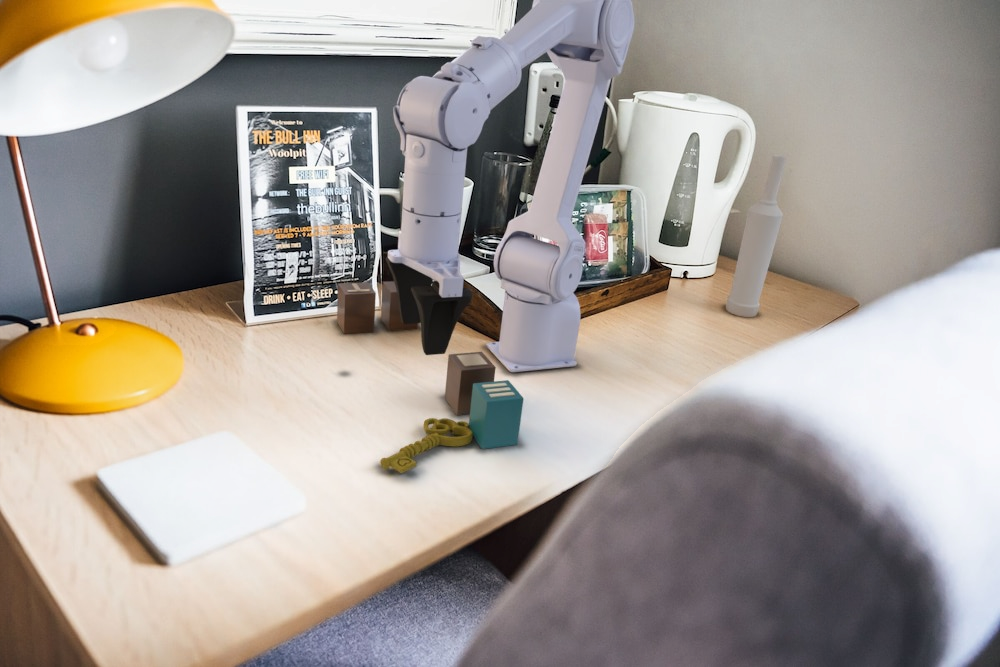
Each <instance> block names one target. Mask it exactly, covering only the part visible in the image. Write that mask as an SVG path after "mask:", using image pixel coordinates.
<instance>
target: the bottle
mask: <svg viewBox="0 0 1000 667" xmlns="http://www.w3.org/2000/svg"><path fill="white" fill-rule="evenodd" d="M787 158H788V156H786V155H783V154H772V156H771V161H770V165H769V170H768V174H767V179H766V183H765V186H764V190H763V194H762V197H761V198H759V201H758V202H756V203H755V204H753V205H752V206H750V207H748V210H747V215H746V221H745V225H744V230H743V233H742V237H741V242H740V248H739V252H738V257H737V262H736V266H735V270H734V276H733V279H732V283H731V289H730V293H729V296H727V297H726V303H725V310H726V311H727V312H728V313H730V314H732V315H735V316H738V317H741V318H742V317H743V318H753V317H756V316H757V315H758V312H759V309H760V305H761V304H760V299H761V295H762V292H763V289H764V285H765V281H766V277H767V274H768V271H769V267H770V263H771V260H772V257H773V253H774V250H775V246H776V242H777V239H778V235H779V230H780V227H781V224H782V221H783V218H784V217H783V216H784V213H783V212H782V210H781V209H780V207H779V206H778V201H777V197H778V192H779V189H780V185H781V180H782V176H783V172H784V170H785V166H786V162H787Z"/></svg>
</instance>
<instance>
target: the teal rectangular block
mask: <svg viewBox="0 0 1000 667" xmlns="http://www.w3.org/2000/svg"><path fill="white" fill-rule="evenodd" d="M524 399H525V398H524V397H523V395H522V393H520V391H519V390H518V389H517V388H516V387H515V386H514V385H513V384H512V383H511V382H510V380H508V379H505V380H494V382H484V383H474V384H473V389H472V399H471V408H470V414H469V417H468V418H469V420H468V424H469V429H470V430H471V431H472V433H473V437H472V438H473V439H474V440H475V441H476V443H477V444H478V446H479V447H480V449H481V450H486V449H494V448H502V447H509V446H515V445H518V442H519V436H520V427H521V421H522V415H523V414H522V412H523V406H524Z"/></svg>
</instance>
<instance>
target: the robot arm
mask: <svg viewBox="0 0 1000 667" xmlns="http://www.w3.org/2000/svg"><path fill="white" fill-rule="evenodd" d="M635 22H636V21H635V15H634V5H633V2H632V0H533V1H532V6H531V9H530V10H529V11H527V13H526V14H525V15H524V16H523V17H522V18H520V20H518V21H517V22H516V23H515V24H514V25H513V26H512V27H511V28H510V29H509V30H508V31H507V32H506V33H504V35H502V37H500V38H498V37H495V36H480V35H478V36H477V37H475V38H474V39H472V40H471V42H470V44H471V46H470V47H469V48H468V49H466V50H465V51H464V52H462V53H461V54H460V55H458V56H457V57H455V58H454V59H452V61H448V62H446V63H445V64H443V65H442V66H441V67H440V70H438V71H437V72H436V73H435V74H434V75H433V76H426V75H420V76H416V77H414V78H413V79H412V80H410V81H409V82H407V83H406V84H405V85H404V86H403V88H402V89H401V91H400V93H399V95H398V98H397V102H396V105H395V106H393V108H392V111H393V112H392V113H393V114H392V115H393V121H394V124H395V127H396V129H397V130H398V132H399V136H400V151H401V153H402V156H404V169H403V170H404V171H403V172H404V173H403V188H402V189H403V190H402V209H401V210H402V211H401V224H400V225H401V226H400V230H399V231H398V238H397V239H398V240H397V249H389V250H387V256H386V257H385V261H386V264H387V266H388V268H389V270H390V273H391V276H392V279H393V281H394V282H395V286H396V291H397V297H398V303H399V310H400V316H401V320H402V322H403V324H415V323H418V324H420V336H421V337H420V338H421V346H422V352H423V354H424V355H425V356H434V355H445V354H446V352H447V349H448V346H449V344H450V341H451V338H452V336H453V334H454V330H455V329H456V328H455V327H456V325H457V323H458V321H459V320H460V317H461V315H462V314H463V312H464V310H466V308H467V307H468V305H469V304H470V303H471V302H472V300H473V292H472V291H471V290H470V289H469V288H468V287H464V276H463V275H462V274H461V255H460V253H459V246H460V233H461V224H462V214H463V213H462V212H463V200H464V199H463V198H464V190H465V178H466V166H467V157H468V156H467V155H468V147H470V146H471V145H474V144H475V143H476V142H477V140H478V139H479V137H480V135H481V133H482V130H483V127H484V124H485V122H486V121H487V119H489V115H490V114H491V111H492V110H493V109H494V108H496V106H497V105H499V104H500V103H501V102H502V101H503V100H505V99H506V98H507V97H508V96H509V95H510V94H511V93H513V92H514V91H515V90H516V89H517V88H518V87H519V85H520V83H521V80H522V70H523V69H524V68H526V66H528V65H530V64H531V63H533V62H534V61H535V60H537V59H538V58H540V57H541V56H543V55H544V54H547V56H548V57H549V59H550V60H551V62H552V64H553V65H554V66H555V67H557V68H558V69H560V70H561V72H562V75H563V77H564V84H563V87H562V90H561V94H560V98H559V101H558V104H557V109H556V112H555V116H554V119H553V124H552V127H551V131H550V135H549V138H548V142H547V145H546V147H545V148H546V149H545V152H544V156H543V159H542V162H541V166H540V170H539V174H538V177H537V182H536V184H535V189H534V192H533V194H532V195H533V196H532V199H531V203H530V207H529V209H528V210H527V211H526V212H523V213H522V214H520V215H518V216H516V217H514V218H512V219H511V220H509V221H508V223H507V227H506V229H505V232H504V235H503V237H502V239H501V240H500V241H499V243H498V244H497V246H496V249H495V252H494V256H493V269H494V270H493V271H494V273H495V276H496V277H497V279H499V280H500V288H501V289H503V290H505V291H504V299H503V300H504V301H503V308H502V316H501V325H500V332H499V339H498V340H499V341H492V342H487V343H486V348H487V349H488V350H489V351H490V352H491V353H492V355H494V356H495V357H496V358H497V360H498V361H499V362H500V363H501V364H502V366H504V367H505V368H506V369H507V370H508V371H509V372H510V373H520V372H529V371H539V370H540V371H541V370H550V369H551V370H552V369H558V368H570V367H576V366H577V363H578V362H577V361H576V360H575V357H576V350H577V344H578V338H579V332H580V331H579V330H580V326H581V319H582V318H581V317H582V315H581V306H580V302H579V299H578V297H577V295H576V294H575V291H576V290H577V288H578V286H579V284H580V282H581V279H582V275H583V269H584V268H583V267H584V265H583V264H584V263H583V262H584V261H583V260H584V254H585V250H586V245H587V244H586V241H585V239H584V237H583V236H582V235H581V234H580V232H579V231H578V229H577V228H576V226H575V225H574V223H573V222H572V216H573V214H574V211H575V207H576V202H577V200H578V197H579V196H578V195H579V192H580V189H581V186H582V181H583V178H584V176H585V175H584V174H585V171H586V168H587V164H588V161H589V158H590V155H591V150H592V147H593V144H594V140H595V136H596V134H597V130H598V126H599V123H600V120H601V119H600V118H601V116H602V112H603V109H604V105H605V101H606V98H607V95H608V92H609V88H610V85H611V80H612V79H613V78H615V77H618V76H619V75H621V73H622V70H623V66H624V64H625V62H626V59H627V54H628V50H629V48H630V44H631V41H632V37H633V34H634V30H635V24H636V23H635ZM533 236H537V237H540V238H543V239H547V240H549V241H552V242H554V243H556V244H557V245H556V244H553V243H550V242H547V241H543V240H541V239H537V238H534V237H533Z"/></svg>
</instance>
